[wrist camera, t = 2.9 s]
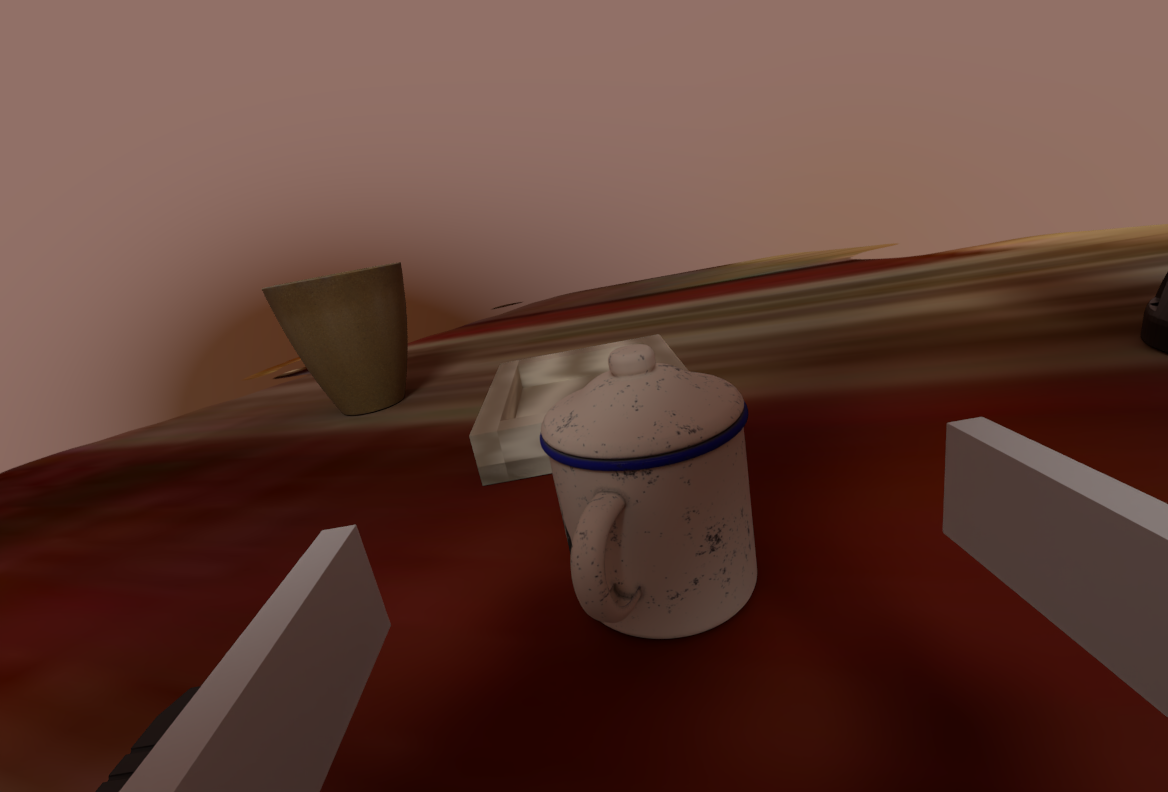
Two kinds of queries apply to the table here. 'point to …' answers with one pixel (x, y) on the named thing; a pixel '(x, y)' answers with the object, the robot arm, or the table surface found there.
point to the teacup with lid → (654, 496)
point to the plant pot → (349, 334)
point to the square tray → (537, 406)
